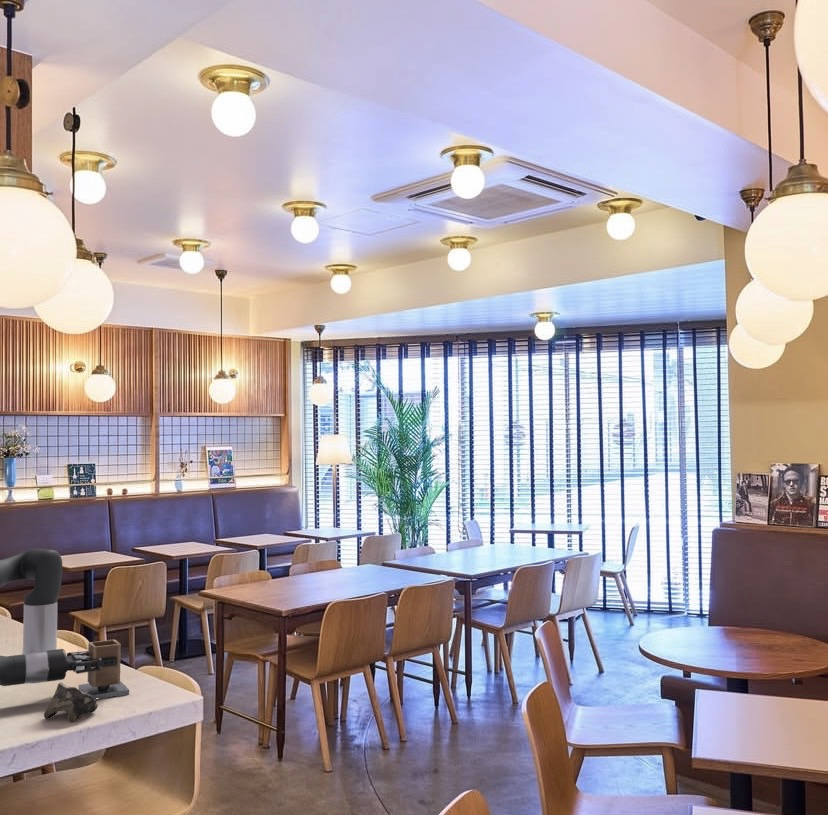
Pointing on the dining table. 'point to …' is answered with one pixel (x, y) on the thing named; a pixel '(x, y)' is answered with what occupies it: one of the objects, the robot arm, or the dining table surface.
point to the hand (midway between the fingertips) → (113, 657)
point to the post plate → (104, 690)
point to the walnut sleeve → (109, 673)
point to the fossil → (70, 703)
